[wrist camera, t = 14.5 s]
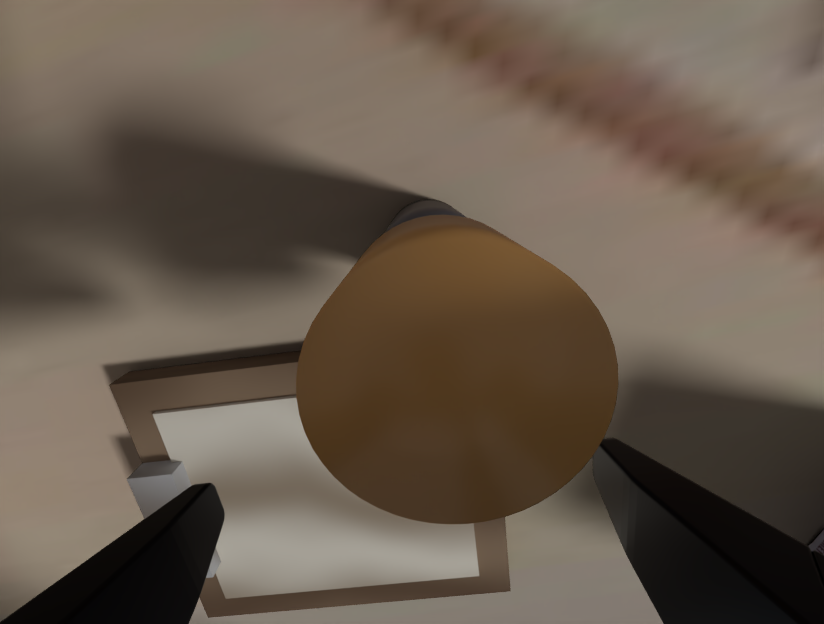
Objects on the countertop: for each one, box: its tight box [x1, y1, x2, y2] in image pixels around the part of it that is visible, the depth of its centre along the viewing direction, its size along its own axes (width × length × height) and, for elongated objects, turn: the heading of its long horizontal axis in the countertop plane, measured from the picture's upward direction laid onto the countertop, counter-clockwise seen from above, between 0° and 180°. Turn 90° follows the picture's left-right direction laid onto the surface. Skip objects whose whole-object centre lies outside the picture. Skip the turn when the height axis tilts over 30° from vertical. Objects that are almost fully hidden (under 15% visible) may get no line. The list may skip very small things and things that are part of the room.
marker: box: [296, 199, 618, 524], centre depth 10 cm, size 3×3×12 cm
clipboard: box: [109, 351, 510, 618], centre depth 18 cm, size 14×16×2 cm
